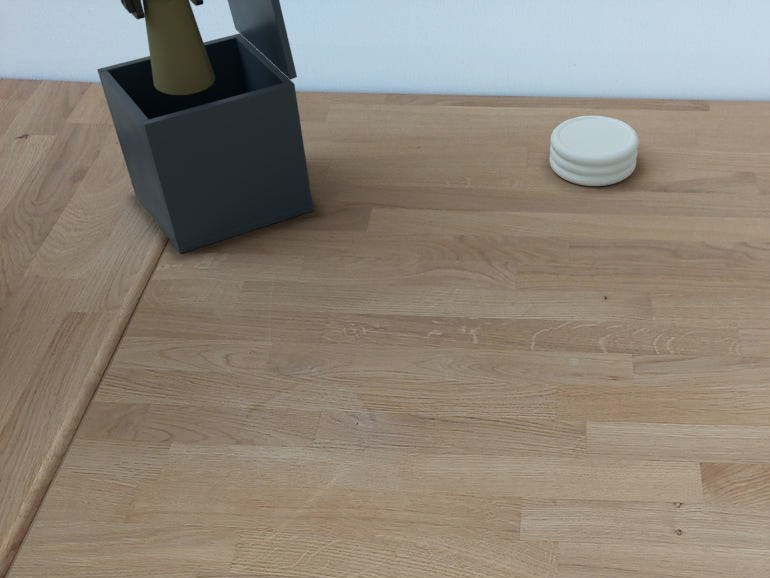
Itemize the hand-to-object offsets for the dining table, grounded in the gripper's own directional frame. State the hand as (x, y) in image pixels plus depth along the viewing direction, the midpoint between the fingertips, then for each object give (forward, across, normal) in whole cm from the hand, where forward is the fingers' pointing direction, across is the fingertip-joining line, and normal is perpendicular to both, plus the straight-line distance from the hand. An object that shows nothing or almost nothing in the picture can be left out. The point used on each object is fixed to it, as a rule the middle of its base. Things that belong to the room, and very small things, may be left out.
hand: (167, 8), depth 91 cm
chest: (+20, +1, 0) cm, 20 cm away
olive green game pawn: (+7, 0, 0) cm, 7 cm away
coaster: (+20, +41, -15) cm, 48 cm away
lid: (-2, +8, 0) cm, 8 cm away
